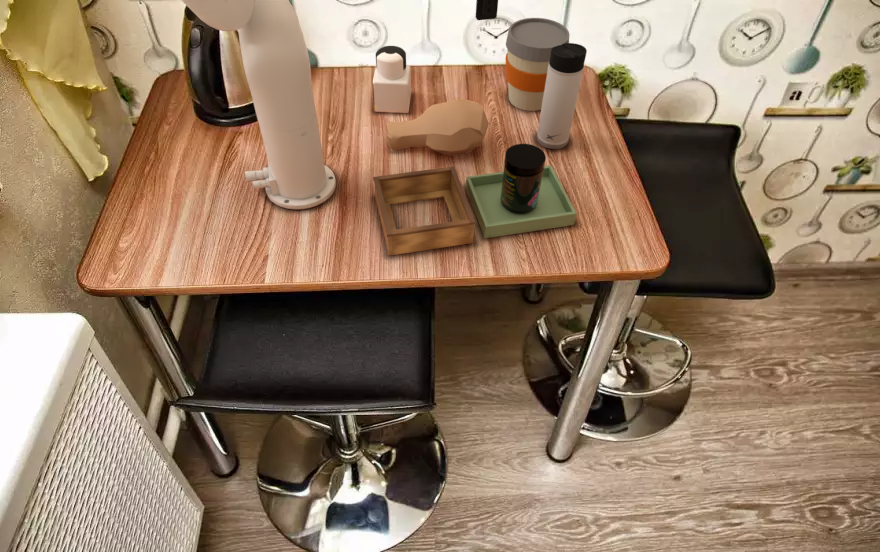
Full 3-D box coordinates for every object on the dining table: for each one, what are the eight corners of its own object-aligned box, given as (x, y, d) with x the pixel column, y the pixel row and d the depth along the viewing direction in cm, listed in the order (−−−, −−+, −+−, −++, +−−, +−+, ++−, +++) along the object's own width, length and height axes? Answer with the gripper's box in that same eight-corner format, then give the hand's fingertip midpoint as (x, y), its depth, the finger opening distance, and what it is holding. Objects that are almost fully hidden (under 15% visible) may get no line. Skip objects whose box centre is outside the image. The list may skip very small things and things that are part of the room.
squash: (492, 160, 120) (491, 127, 113) (390, 172, 122) (382, 141, 114) (486, 119, 126) (485, 85, 118) (389, 132, 127) (381, 98, 119)
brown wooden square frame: (388, 256, 103) (386, 235, 99) (374, 198, 112) (373, 176, 109) (473, 243, 105) (475, 222, 102) (453, 187, 115) (454, 165, 111)
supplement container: (524, 221, 108) (532, 174, 100) (492, 204, 111) (497, 158, 103) (544, 200, 112) (553, 153, 104) (512, 185, 114) (519, 138, 106)
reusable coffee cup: (513, 77, 139) (521, 11, 128) (566, 92, 136) (579, 26, 125) (490, 105, 132) (497, 38, 121) (546, 122, 128) (558, 55, 117)
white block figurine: (378, 93, 134) (374, 40, 125) (411, 94, 134) (410, 42, 125) (374, 112, 130) (370, 59, 121) (408, 113, 130) (407, 61, 121)
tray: (484, 238, 106) (485, 226, 104) (465, 188, 115) (466, 176, 113) (574, 225, 109) (576, 213, 107) (549, 176, 117) (551, 165, 115)
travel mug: (551, 154, 122) (569, 60, 106) (530, 137, 125) (544, 44, 110) (575, 144, 124) (596, 50, 109) (554, 127, 127) (571, 34, 112)
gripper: (444, -139, 89) (442, -19, 102) (475, -96, 78) (468, 33, 91) (494, -142, 91) (486, -22, 104) (531, -100, 80) (517, 28, 93)
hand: (477, 3), depth 97 cm, fingers open, 9 cm apart
